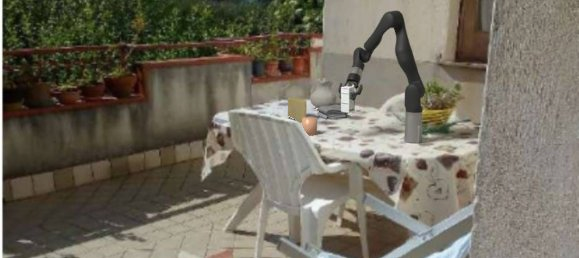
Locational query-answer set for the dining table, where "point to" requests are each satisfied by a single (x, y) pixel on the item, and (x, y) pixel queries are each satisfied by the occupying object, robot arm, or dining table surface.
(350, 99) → the syrup box
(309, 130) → the peach rounded cylinder
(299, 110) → the cheese
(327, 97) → the ceramic pitcher
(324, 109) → the towel
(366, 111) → the dining table surface
